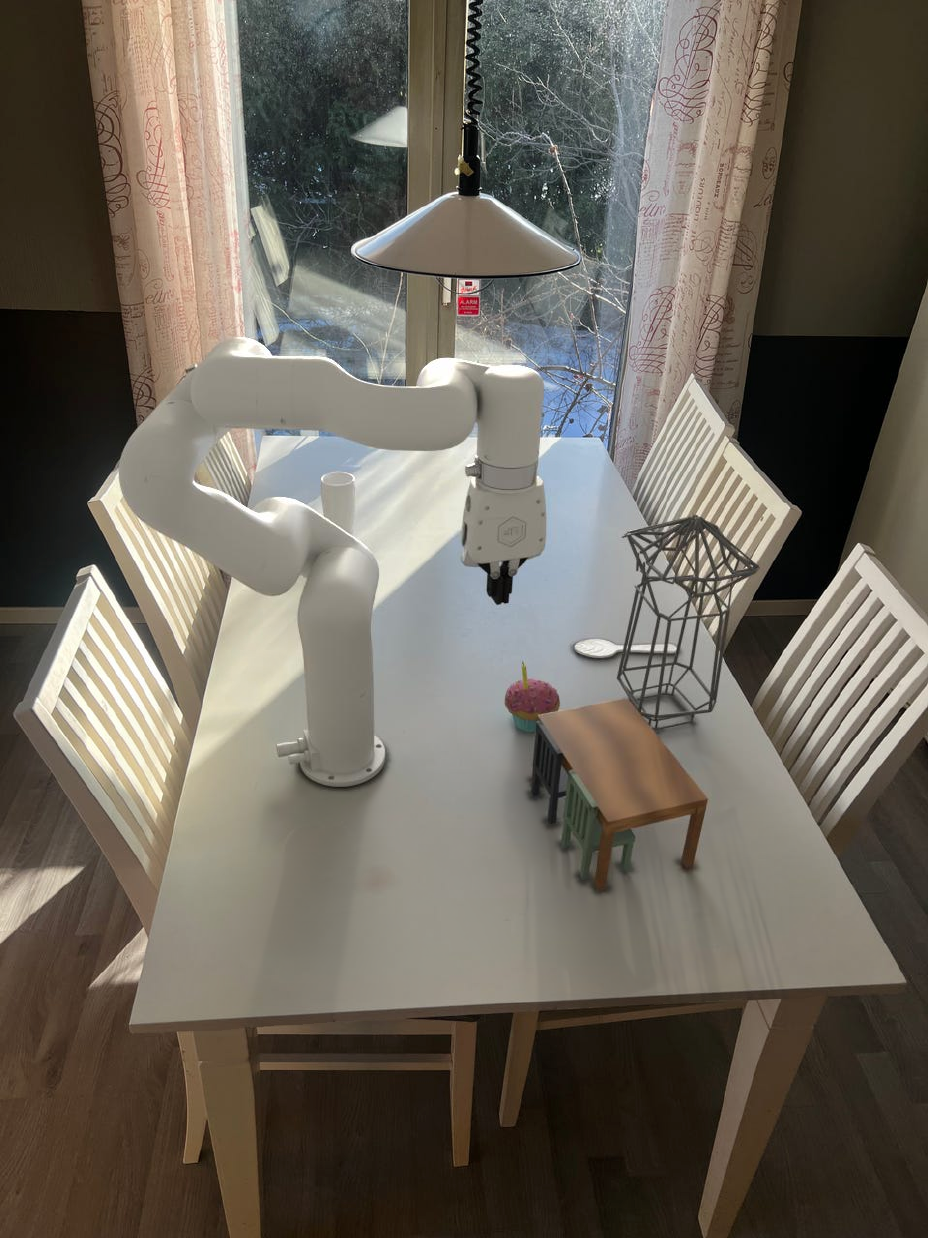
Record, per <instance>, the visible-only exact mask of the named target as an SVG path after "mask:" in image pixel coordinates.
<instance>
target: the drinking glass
mask: <svg viewBox="0 0 928 1238" xmlns="http://www.w3.org/2000/svg"><path fill="white" fill-rule="evenodd" d="M355 480H356V478H355V476H354V475H353V474H351V473H349V472H345V471H331V472H327V473H324V474H323V475H322V476H321V477H320V499H321V508H322V512H323V513H322V514H323V517H325V518H326V519H328V520H329V521H331V522H332V523H334V524H335V525H337V526H338V527H339V528H341V529H342V530H344V531H345V532H347V533H348V534H350V535H351V536H353V537H354V525H355V512H356V511H355V510H356V482H355Z"/></svg>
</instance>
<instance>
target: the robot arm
mask: <svg viewBox="0 0 928 1238" xmlns="http://www.w3.org/2000/svg"><path fill="white" fill-rule="evenodd" d="M544 395H545V382H544V379H543V377H542V376H541V374H540V373H539V372H537V371H536V370H534V369H532V368H530V367H527V366H522V365H513V364H512V365H511V364H510V365H508V364H507V365H498V366H492V365H487V364H482V363H477V362H474V361H473V362H472V361H468V360H464V359H459V358H452V357H443V358H437V359H435V360H432V361H430V362H429V363H428V364H427V365H425V366H424V367H423V368H422V369H421V372H420V373H419V375H418V377H417V381H416V384H415V386H395V385H393V386H392V385H383V384H377V383H371V382H367V381H364V380H362V379H359V378H356V377H354V376H353V375H351V374H350V373H348V372H347V371H346V370H345V369H344V368H342V366H340V365H339V364H338V363H337V362H335V360H333V359H330V358H328V357H326V356H325V357H324V356H300V355H299V356H289V355H285V356H284V355H272V354H271V352H270V351H269V349H268V348H267V347H266V346H265V345H264V344H262V343H261V342H258V341H257V340H254V339H252V338H248V337H240V336H238V337H230V338H227V339H224V340H222V341H220V342H218V344H216V345H215V346H214V347H213V348H212V349H211V350H210V351H209V352H208V354H207V355H206V356H205V358H203V360H202V361H201V362H199V364H198V365H197V366H196V367H195V368H194V369H193V370H192V371H191V372H190V373H189V374H188V375H186V377H185V378H183V380H182V381H181V382H179V384H178V385H177V386H176V387H175V388H173V390H172V391H170V393H169V394H167V395H166V397H164V398H163V400H162V401H160V402H159V403H158V405H157V406H156V407H155V408H154V409H153V410H152V411H151V412H150V414H149V415H148V416H147V417H146V418H145V419H144V421H142V422H141V423H140V424H139V425H138V427H137V428H136V429H135V430H134V432H132V434H131V436H130V437H129V438H128V440H127V442H126V444H125V445H124V448H123V450H122V452H121V455H120V459H119V466H118V483H119V488H120V492H121V493H122V497H123V499H124V501H125V502H126V504H127V507H128V508H129V509H130V510H131V512H132V513H133V514H134V515H135V516H136V517H137V518H138V519H139V520H140V521H141V522H143V523H144V524H145V525H147V526H148V527H149V528H151V529H153V530H154V531H156V532H158V533H160V534H161V535H163V536H165V537H167V538H169V539H171V540H173V541H174V542H176V543H177V544H180V545H182V546H183V547H185V548H187V549H188V550H190V551H191V552H193V553H195V554H196V555H198V556H199V557H200V558H202V559H203V560H205V561H207V562H208V563H210V564H211V565H213V566H214V567H216V568H218V569H219V570H221V571H222V572H224V573H225V574H226V575H229V576H230V577H231V578H232V579H235V580H236V581H238V582H239V583H241V584H243V585H244V586H246V587H247V588H249V589H251V590H252V591H254V592H256V593H259V594H261V595H264V596H267V597H276V596H281V595H283V594H286V593H287V592H288V591H290V590H291V589H292V588H293V587H294V586H295V584H296V583H297V581H298V580H299V578H300V576H302V577H304V578H305V579H306V580H305V583H304V585H303V588H302V591H301V594H300V598H299V602H298V606H297V619H296V620H297V627H298V633H299V638H300V644H301V649H302V657H303V659H302V660H303V672H304V683H305V686H304V687H305V701H306V702H305V703H306V716H307V717H306V718H307V729H303V737H297V740H296V741H291V742H288V741H287V742H286V741H285V742H281V743H276V745H275V747H276V748H275V749H276V754H277V757H278V758H283V757H287V760H288V764H289V766H291V765H292V766H293V765H296V764H299V767H300V769H301V771H302V772H303V773H304V775H305V776H307V777H308V779H310V780H312V781H313V782H315V783H317V784H320V785H323V786H327V787H335V788H343V787H352V786H357V785H360V784H362V783H366V782H367V781H369V780H371V779H373V778H374V777H375V776H377V775H378V774H379V773H380V772H381V771H382V769H383V767H384V766H385V762H386V747H385V745H384V743H383V742H382V740H381V739H380V738H379V737H378V736H376V734H375V689H374V688H375V687H374V686H375V685H374V681H375V680H374V677H375V676H374V655H373V653H374V651H373V642H372V641H373V640H372V616H373V610H374V605H375V600H376V595H377V594H376V593H377V590H378V586H379V579H380V567H379V563H378V560H377V558H376V557H375V555H374V553H373V552H372V551H371V549H369V548H368V547H367V546H366V544H364V543H363V542H361V541H360V540H359V539H357V538H356V537H354V535H353V536H351V535H350V534H348V533H347V532H345V531H344V530H342V529H341V528H339V527H338V526H337V525H335V524H334V523H332V522H331V521H329V520H328V519H326V518H325V517H324V515H322V514H321V513H318V511H316V510H314V509H313V508H311V507H310V506H308V505H307V504H305V503H303V502H301V501H298V500H296V499H293V498H289V497H285V496H284V497H283V496H274V497H267V498H264V499H262V500H261V501H259V502H257V503H256V504H255V505H254V506H253V507H252V508H251V509H250V508H248V507H246V505H243V504H242V503H240V502H239V501H237V500H236V499H235V498H233V497H232V496H231V495H230V494H229V495H228V493H225V492H223V491H221V490H218V489H216V488H212V487H210V486H209V487H208V486H204V485H201V484H199V483H197V482H196V481H195V474H196V473H197V471H198V469H199V468H200V467H201V465H202V464H203V463H204V461H205V459H207V456H208V455H209V454H210V452H211V451H212V449H213V448H214V447H215V446H216V444H218V443H219V442H220V440H222V438H224V436H226V435H227V434H228V433H229V432H230V431H231V430H232V429H251V430H289V431H292V430H293V431H313V432H314V431H315V432H317V431H318V432H327V433H330V434H333V435H334V436H337V437H339V438H342V439H344V440H347V441H350V442H354V443H357V444H360V445H362V446H365V447H370V448H375V449H378V450H379V449H380V450H386V451H404V452H405V451H407V452H408V451H409V452H436V451H444V450H448V449H452V448H454V447H457V446H459V445H461V444H462V443H463V442H465V441H466V440H467V439H468V438H469V437H470V435H471V433H472V432H473V430H474V428H475V425H477V435H476V437H477V440H476V455H475V456H474V461H473V463H471V464H468V465H465V467H464V473H465V476H466V477H468V478H469V477H471V478H470V481H469V485H468V488H467V493H466V496H465V502H464V507H463V514H462V522H461V534H460V535H461V537H460V538H461V542H460V543H461V546H462V548H463V549H462V552H461V556H460V561H461V564H463V566H465V567H470V568H480V569H481V570H483V571H484V572H485V573H486V594H487V596H488V597H489V598H491V599H492V601H493V602H494V604H495V605H496V606H500V605H502V604H504V605H506V604H509V603H510V595H511V594H513V584H514V583H513V582H514V577H515V576H516V575H517V574H518V571H519V569H520V568H521V567H522V565H523V564H525V563H526V561H528V560H531V559H534V558H538V557H539V556H541V555H542V553H543V552H544V551H545V548H546V541H547V505H546V492H545V485H544V480H543V479H542V478H541V477H540V476H538V472H539V457H540V446H541V445H540V444H541V433H542V431H541V430H542V421H543V407H544V397H545V396H544Z"/></svg>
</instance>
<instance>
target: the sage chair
mask: <svg viewBox="0 0 928 1238" xmlns="http://www.w3.org/2000/svg"><path fill="white" fill-rule="evenodd" d="M564 798H565V799H564V807H563V814H562V818H563V823H562V832H561V841H560V845H561V846H562V848H563V849H565V848H569V847H570V846H571V845H570V844H571V838H572V837H571V836H572V835H573V836H574V838H575V840H577V842H578V844H579V845H580V847H581V849H582V853H581V854H582V855H581V863H580V869H579V877H580V878H581V880H582V881H584V880H588V879H589V877H590V870H591V863H592V856H593V853H597V852H599V845H600V839H601V832H602V826H601V825H600V823H599V822H598V820H597V819H596V815H597V809H598V805H597V804H596V802H595V801H594V799H593V798H592V796H591V795H590V793H589V792H588V790H587V789H586V787H585V786H584V784H583V783H582V781H581V780H580V778H579V777H578V775H577V774H576V772H575V771H574V770H571V771H569V772H568V781H567V789H566V796H565V797H564ZM636 838H637V836H636V834H635V833H634V832H633V830H632V829H628V830H624V831H619V832H615V833H614V839H613V845H612V849H613V848H616V847H620V846H623V848H622V853H621V859H620V867H621V869H622V870H627V869H630V865H631V861H632V854H633V848H634V843H636Z"/></svg>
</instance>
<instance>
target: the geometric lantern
mask: <svg viewBox="0 0 928 1238" xmlns="http://www.w3.org/2000/svg"><path fill="white" fill-rule="evenodd" d="M671 526H672V527H671ZM666 527H671V528H669V529H667V530H665V531H652V530H657V529H661V528H666ZM705 530H706V531H707V532H708V533H709V534H710V535H711V536H712V537H713V538H714V539H716V540H717V541H718V545H719V550H720V553H721V557H722V560H721V561H720V562H719V563H718V564H717V565H716V563H715V561H714V557H713V554H712V552H711V549H710V545H709V542H708V540H707V537H706V534H705ZM633 536H634V537H633ZM646 536H660V537H658V538H657V539H656V540H654V541H653V540H651V539H649V538H647V537H646ZM669 536H670V537H669ZM635 537H636V538H638V539H640V540H642V541H643V542H645V543H647V544H648V545H647V546H645V547H643V545H641V544H640V543H639V542H638V541H637V540H636V539H635ZM668 537H669V538H668ZM700 537H701V540H702V544H703V546H704V548H705V552H706V554H707V558H708V561H709V563H710V567H711V569H712V570H710V572H709V573H707V574H706V575H705V576H704V577H700ZM621 538H622V539H624V538H627V540H628V543H629V546H630V548H631V551H632V553H633V555H634V557H635V560H636V564H635V571H636V572H640V573H641V574H642V576H641V580H640V582H639V583H638V584H635V585H634V588H635V593H634V598H633V602H632V606H631V611H630V615H629V620H628V625H627V629H626V634H625V638H624V643H623V645H624V647H623V652H621V657H620V661H619V665H618V671H617V675H616V680H617V681H618V682H619V684H620V686H621V687H622V689H623V691H624V692H625V694H626V696H627V698H628V699H629V701H630V702H631V703H632V704H633V706H634V707H635V708H636V709H637V711H638V712H639V713H640V714H641V716H642V717H643V718H644V719H647V720H648V722H647V723H648V724H649V726H650V727H651V728H652V729H653V731H659V730H663V729H669V728H674V727H679V726H683V725H689V724H692V723H694V718H695V715H700V714H708V713H712V712H713V711H714V708H715V707H716V704H717V700H718V694H719V693H718V691H719V686H720V685H719V684H720V678H721V670H722V667H723V666H722V665H723V659H724V653H725V646H726V640H727V632H728V627H729V620H730V619H729V618H730V612H731V609H730V608H731V601H732V592H733V586H734V585H736V584H738V583H740V582H742V581H743V580H745V579H747V578H750V577H752V576H753V575H755V574H757V573H758V571H759V570H760V569H761V566H760V565H759V564H757V563H756V562H755V561H754V560H753V559H752V558H750V557H749V556H748V555H747V554H746V553H744V551H742V550H741V549H740V548H738V547H737V546H736V545H735V544H734V543H733V542H731V540H729V539H728V538H727V537H726V536H725V534H724V533H723V532H722V530H721V529H720V528H719V525H717V524H715V523H713V522H710V521H709V520H706V519H705V518H704V517H703V516H699V515H698V514H694V513H693V514H692V516H686V517H682V518H678V519H677V518H676V519H673V520H669V521H665V522H661V523H656V524H653V525H649V526H644V527H640V528H636V529H631V530H628V531H626V532H625V533H624V534H622V536H621ZM667 538H668V539H667ZM676 538H677V541H676V544H675V547H672V546H671V547H669V546H668V545H670V544H671V543H672V542H673V540H675V539H676ZM665 539H667V540H665ZM664 540H665V542H664ZM692 541H694V566H693V565H692V562H691V561H690V560H689V558H688V556H687V554H686V553H687V551H688V549H689V546H690V543H692ZM663 542H664V543H663ZM667 546H668V547H667ZM653 547H655V548H657V549H656V550H655V551H654V552H653V553H652V554H651V555H650V556H649V555H648V553H647V552H648V550H650V549H652V548H653ZM683 549H684V550H683ZM725 549H726V550H727V551H728V554H727V555H726V551H725ZM637 550H639V552H638V551H637ZM662 551H663V552H674V554H673V555H672V557H671V559H670V561H669V563H668V564H667V566H666V568H665V570H664V572H663V573H662V572H661V571H660V570H659V569H658V567H656V566H654V564H655V562H656V560H657V559H658V556H659V555H660V553H661V552H662ZM680 553H682V556H681V559H680V560H679V564H678V565H677V568H676V571H675V573H674V576H668V574H669V573H670V571H671V570H672V567H673V565H674V564H675V562H676V560H677V558H678V557H679V555H680ZM640 555H642V556H643V558H644V559H645V561H642V560H641V557H640ZM731 556H733V558H734V559H735V560H736V563H735V565H734V568H733V567H732V566H731V564H730V563H729V560H730V558H731ZM684 559H685V560H686V561H687V563H688V565H689V567H690V568H691V570H692V571H693V574H694V575H693V574H687V575H678V574H679V571H680V570H681V566H682V564H683V562H684ZM740 562H741V563H742V564H743V565H744V566H745V568H741V569H738V567H739V564H740ZM646 565H647V567H648V568H647V569H646ZM723 565H724V566H725V567H726V568H727V570H728V572H730V574H728V575H722V576H719V573H718V570H719V569H720V568H721V567H722V566H723ZM651 571H653V572H654V573H655V574H656V575H650V572H651ZM712 575H713V576H714V577H711V576H712ZM734 578H735V579H734ZM671 580H672V581H671ZM725 580H730V582H728V583H725V584H724V585H721V586H719V587H718V588H717V586H718V582H720V581H725ZM652 582H664V583H667V584H670V585H674V584H675V585H677V586H678V587H680V588H682V589H683V590H685V591H686V592H688V597H687V600H686V601H685V602H684V603H683V604H681V606H679V607H678V608H677V609H675V611H673V612H672V613H671V614H670V615H668V616H667V615H666V614H664V613H662V612H660V610H659V606H658V604H657V601H656V598H655V593H654V591H653V588H652V585H651V583H652ZM685 582H691V583H690V587H689V586H688V585H686V584H685ZM699 582H700V583H702V584H701V591H700V592H699V593H698V589H699V588H698V587H699ZM708 582H709V583H711V582H713V588H712V587H711V586H710V584H709V583H708ZM706 587H707V588H708V590H707V591H706ZM728 588H729V593H728V600H727V601H728V602H727V603H726V602H725V601H724V600H723V599H722V598H721V596H719V594H718V593H720V592H722V591H724V590H725V589H728ZM647 589H648V593H649V596H650V598H651V602H652V604H651V602H650V601H649V600H648V598H647V597H646V596H645V593H646V590H647ZM639 595H640V596H639ZM712 595H713V598H714V600H715V603H716V607H717V610H718V613H709V614H702V611H703V605H704V598H705V597H707V596H712ZM638 598H639V599H638ZM694 598H695V599H697V598H699V601H698V608H697V615H690V616H688V615H689V611H690V607H691V603H692V600H693V599H694ZM643 602H645V603H646V604H647V605H648V607H649V608H650V610H651V611H652V612H653V614H654V615H655V616H656V621H655V625H654V631H653V635H652V641H651V644H652V645H651V644H650V645H651V649H650V653H648V660H647V664H645V665H637V666H630V667H627V666H628V662H629V658H630V654H631V652H630V650H631V646H632V645H633V641H634V638H635V633H636V630H637V625H638V621H639V618H640V613H641V610H642V605H643ZM637 603H638V604H637ZM721 604H722V605H723V606H724V608H725V609H724V610H723V608H722V605H721ZM684 607H685V610H684V615H683V616H682V617H673V616H675V615H676V614H677V613H678V612H679V611H680V610H681V609H682V608H684ZM672 617H673V618H672ZM712 617H719V618H718V625H717V634H716V635H717V636H716V640H715V641H716V642H715V651H714V658H713V667H712V676H711V683H710V684H711V685H710V689H708V687H707V686H706V684H705V683H704V682H703V681H702V679H701V678H700V676H699V675H698V673H696V671H695V670H694V668H693V667H694V661H695V654H696V648H697V641H698V636H699V629H700V623H701V619H702V618H703V619H704V618H712ZM661 619H664V620H665V621H667V624H666V630H665V638H664V643H663V644H664V651H663V653H662V660H661V662H660V663H653V664H652V662H653V657H654V654H655V653H654V648H655V644H657V638H658V633H659V629H660V623H661ZM694 619H695V620H696V621H695V626H694V627H695V628H694V633H693V640H692V648H691V653H690V660H689V665H687V664H684V663H682V662H679V661H678V658H679V654H680V650H681V645H682V642H683V639H684V638H683V637H684V633H685V628H686V625H687V620H694ZM675 621H682V624H681V628H680V632H679V637H678V641H677V646H676V648H677V649H676V653H674V657H673V661H670V662H667V655H668V653H667V648H668V644H669V641H670V634H671V627H672V622H675ZM722 629H723V631H722ZM627 645H628V648H627ZM626 649H627V652H626ZM669 666H671V667H670V672H669V677H668V681H667V682H664V676H665V669H666V667H669ZM675 666H678V667H681V668H683V669H685V670H684V672H683V673H682V674H681V675H680V676H679V677H678V679H677V680H676V681H675V682H674V684H673V683H671V682H672V677H673V672H674V667H675ZM653 668H660V674H659V680H658V684H655V685H649V686H647V684H648V681H649V676H650V671H651V669H653ZM637 670H645V673H644V677H643V682H642V687H640V688H636V689H633V687H632V685H631V682H630V680H629V678H628V676H627V674H626V672H629V671H631V672H632V671H637ZM689 671H690V673H691V674H692V675H693V677H694V679H696V681H697V682H698V683H699V685H700V686H701V688H703V691H704V692H705V693H706V694H707V696H708V697H709V699H708V701H707V702H705V703H702V704H700V705H699V706H697V707H695V706H694V704H693V703H692V702H691V701H690V700H689V699H688V698H687V696H685V694H684V693H682V691H681V690H680V689H679V688H678V687H677V685H678V684H679V682H681V680H682V679H683V678H684V677H685V675H686V674H688V672H689ZM622 676H623V677H624V680H625V682H626V684H627V685H626V684H625V682H624V681H623V679H622ZM669 686H670V687H672V689H671V692H668V690H669ZM663 687H665V690H664V691H663ZM656 688H657V693H655V694H650V695H646V694H645V693H646V690H651V689H656ZM662 691H663V692H662ZM675 691H676V692H677V693H678V694H679V695H680V696H681V697H682V698H683V699H684V700H685V702H686V703H687V704H688V705H689V706H690V708H692V709H693V710H688V708H687V707H686V706H685V705H684V704H683V703H682V702H681V701H680V699H678V697H677V696H676V695H675ZM636 692H637V693H638V692H641V693H640V697H636V696H635V695H634V694H635V693H636ZM662 696H670V697H673V699H674V700H675V701H676V703H678V705H680V707H681V708H682V709H683V710H684V711H679V712H671V713H670V712H669V713H662V714H659V713H660V705H661V697H662ZM651 698H656V703H655V711H654V712H655V713H651V712H647V711H646V709H645V708H644V706H643V704H644V701H645V699H651ZM707 705H708V708H706V709H701V708H704V707H705V706H707ZM686 716H689V717H690V720H686V721H682V722H677V723H671V724H667V725H662V726H659V722H660V721H666V720H670V719H675V718H680V717H681V718H682V717H686ZM652 722H655V724H654V727H652V726H651V725H652ZM658 726H659V727H658Z"/></svg>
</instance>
